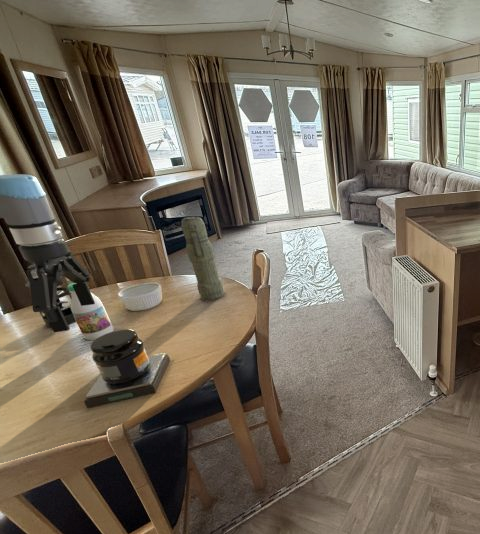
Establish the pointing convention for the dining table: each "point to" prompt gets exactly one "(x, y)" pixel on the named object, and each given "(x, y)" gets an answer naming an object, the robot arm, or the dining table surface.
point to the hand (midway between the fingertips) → (76, 316)
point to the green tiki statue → (202, 258)
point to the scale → (132, 392)
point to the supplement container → (120, 356)
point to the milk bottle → (90, 316)
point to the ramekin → (141, 296)
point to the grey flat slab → (141, 381)
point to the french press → (59, 303)
